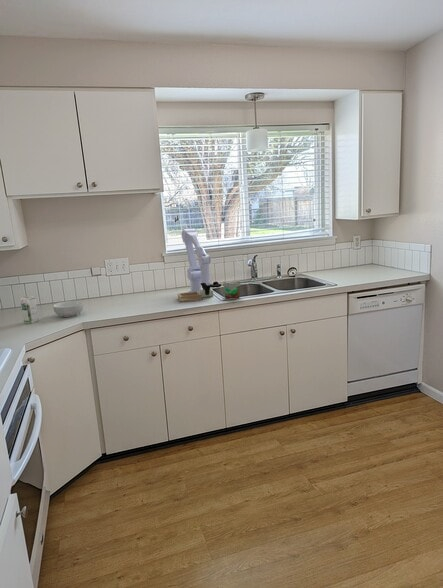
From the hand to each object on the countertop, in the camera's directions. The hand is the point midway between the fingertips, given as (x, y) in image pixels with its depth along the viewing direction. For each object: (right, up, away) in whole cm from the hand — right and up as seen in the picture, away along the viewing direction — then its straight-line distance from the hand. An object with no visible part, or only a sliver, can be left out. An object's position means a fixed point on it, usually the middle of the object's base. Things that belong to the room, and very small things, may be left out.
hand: (206, 294), depth 266 cm
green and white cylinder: (-97, -16, -41) cm, 106 cm away
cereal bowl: (-79, -13, -30) cm, 86 cm away
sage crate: (0, -1, 0) cm, 1 cm away
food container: (+16, -3, -9) cm, 18 cm away
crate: (-10, -3, -6) cm, 13 cm away
